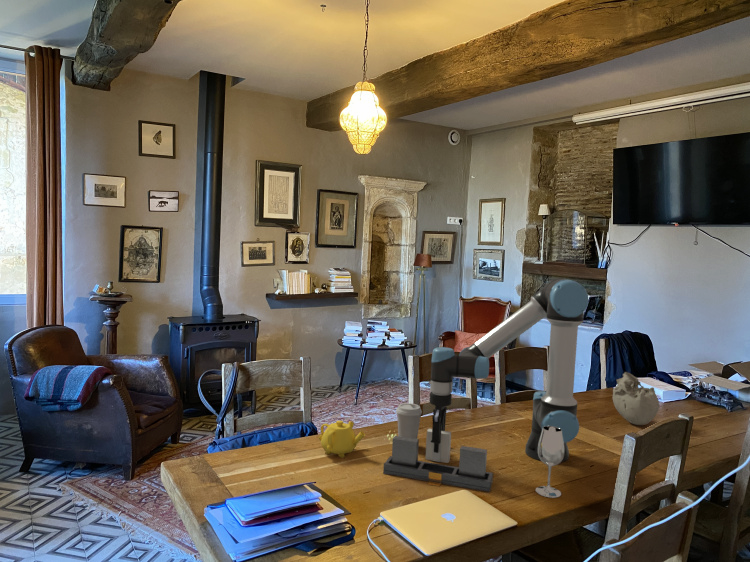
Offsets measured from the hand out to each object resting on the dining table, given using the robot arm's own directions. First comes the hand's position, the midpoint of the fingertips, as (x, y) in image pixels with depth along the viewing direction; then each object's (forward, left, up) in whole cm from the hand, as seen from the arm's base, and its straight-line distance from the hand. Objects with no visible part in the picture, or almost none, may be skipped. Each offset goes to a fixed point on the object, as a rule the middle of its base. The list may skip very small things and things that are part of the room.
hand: (437, 458), depth 194 cm
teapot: (+33, +7, -1) cm, 34 cm away
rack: (-3, +16, 0) cm, 16 cm away
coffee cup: (+13, -8, 0) cm, 15 cm away
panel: (0, 0, 0) cm, 0 cm away
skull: (-72, -77, 0) cm, 106 cm away
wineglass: (-37, +12, 0) cm, 39 cm away
